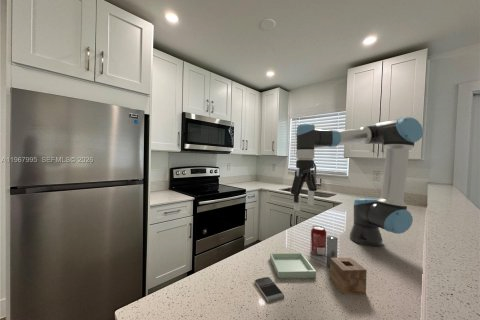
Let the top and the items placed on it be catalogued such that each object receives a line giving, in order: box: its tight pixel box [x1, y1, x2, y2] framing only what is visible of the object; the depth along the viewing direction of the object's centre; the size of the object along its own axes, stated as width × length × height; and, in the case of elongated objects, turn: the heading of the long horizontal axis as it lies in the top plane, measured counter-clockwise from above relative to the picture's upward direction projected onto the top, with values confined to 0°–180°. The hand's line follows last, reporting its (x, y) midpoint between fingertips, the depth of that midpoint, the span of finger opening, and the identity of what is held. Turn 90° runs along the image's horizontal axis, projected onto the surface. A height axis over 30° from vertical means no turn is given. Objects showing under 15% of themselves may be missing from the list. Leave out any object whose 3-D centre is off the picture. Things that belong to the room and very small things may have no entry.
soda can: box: [310, 225, 327, 256], centre depth 92 cm, size 7×7×12 cm
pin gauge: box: [325, 235, 338, 270], centre depth 80 cm, size 4×4×12 cm
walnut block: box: [329, 257, 367, 295], centre depth 68 cm, size 8×8×8 cm
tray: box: [269, 252, 317, 280], centre depth 79 cm, size 14×14×2 cm
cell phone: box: [253, 276, 285, 304], centre depth 65 cm, size 6×11×1 cm, turn 20°
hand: (304, 207), depth 86 cm, fingers open, 13 cm apart
